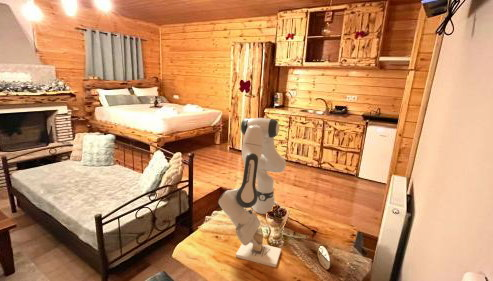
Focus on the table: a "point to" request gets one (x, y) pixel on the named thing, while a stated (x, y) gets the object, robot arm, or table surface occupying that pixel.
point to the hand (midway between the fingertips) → (259, 241)
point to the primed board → (266, 257)
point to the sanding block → (259, 238)
